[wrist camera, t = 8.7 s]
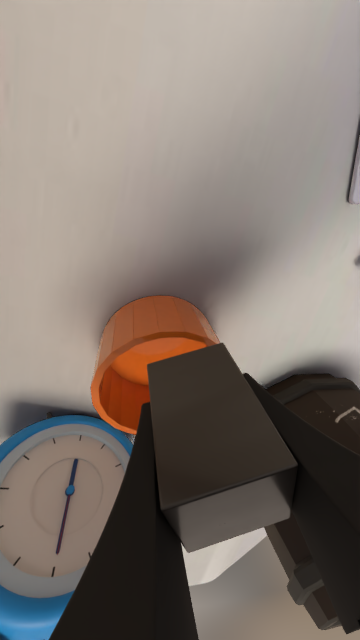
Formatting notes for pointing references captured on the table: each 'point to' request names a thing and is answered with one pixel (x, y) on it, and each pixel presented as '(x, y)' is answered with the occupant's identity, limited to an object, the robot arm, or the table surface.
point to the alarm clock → (53, 515)
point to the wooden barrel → (304, 579)
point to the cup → (142, 353)
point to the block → (215, 450)
